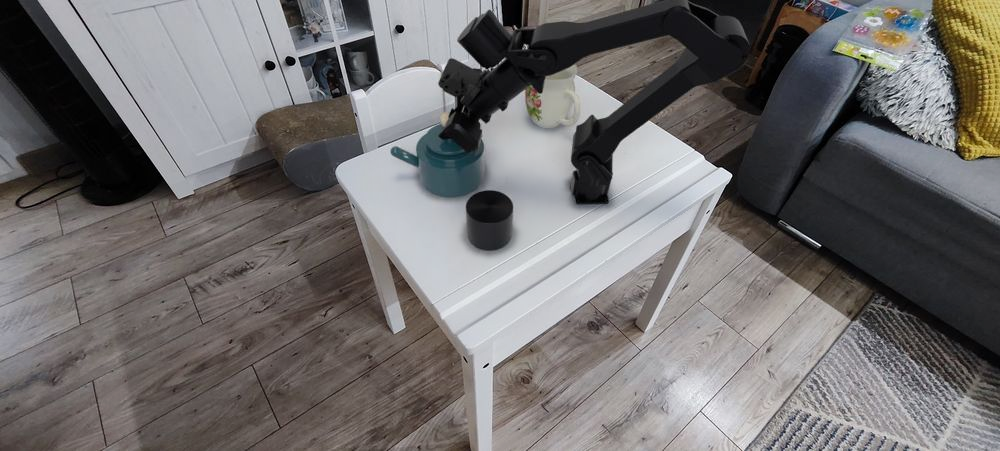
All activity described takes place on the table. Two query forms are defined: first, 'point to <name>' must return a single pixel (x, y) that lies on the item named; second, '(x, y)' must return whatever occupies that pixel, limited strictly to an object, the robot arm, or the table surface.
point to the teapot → (445, 169)
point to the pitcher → (554, 100)
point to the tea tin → (489, 220)
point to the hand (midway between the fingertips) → (442, 132)
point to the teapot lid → (437, 143)
